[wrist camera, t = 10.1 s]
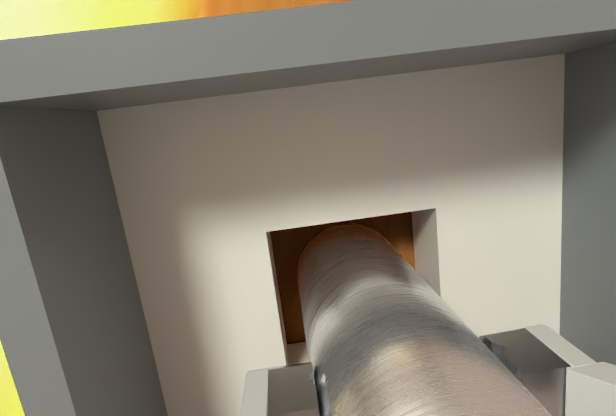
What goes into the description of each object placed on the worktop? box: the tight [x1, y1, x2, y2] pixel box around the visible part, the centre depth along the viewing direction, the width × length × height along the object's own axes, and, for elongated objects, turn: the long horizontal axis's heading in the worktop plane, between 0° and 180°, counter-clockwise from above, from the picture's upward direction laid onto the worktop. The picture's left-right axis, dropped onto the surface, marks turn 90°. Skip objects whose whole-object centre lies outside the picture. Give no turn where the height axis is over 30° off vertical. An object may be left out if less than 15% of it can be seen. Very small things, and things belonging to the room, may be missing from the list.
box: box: [0, 0, 616, 416], centre depth 12 cm, size 16×16×7 cm
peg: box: [297, 223, 552, 416], centre depth 10 cm, size 4×4×12 cm
